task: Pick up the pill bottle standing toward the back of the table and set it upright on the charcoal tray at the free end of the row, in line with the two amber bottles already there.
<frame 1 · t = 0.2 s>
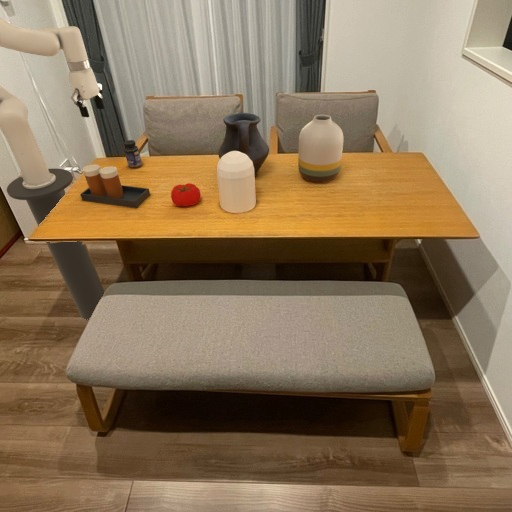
hand: (93, 112, 152), 26 cm above the table, tool pointing down, fingers open, 9 cm apart
tomato: (187, 203, 145), on the table
pill bottle: (135, 166, 173), on the table
amber bottle 2: (116, 195, 150), point 1 cm above the table, touching tray
amber bottle 1: (99, 193, 152), point 1 cm above the table, touching tray
vase: (318, 176, 158), on the table
tray: (116, 197, 151), on the table
pitcher: (245, 174, 162), on the table
container: (238, 204, 143), on the table
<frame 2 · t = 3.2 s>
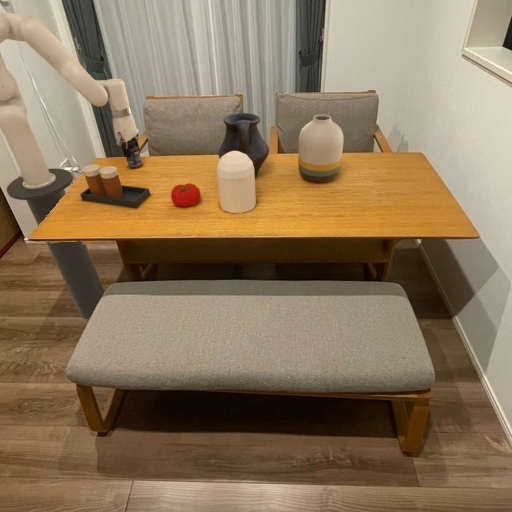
hand: (132, 153, 169), 6 cm above the table, tool pointing down, fingers closed on pill bottle, 6 cm apart
pill bottle: (135, 166, 173), on the table, touching gripper
everything else where it was.
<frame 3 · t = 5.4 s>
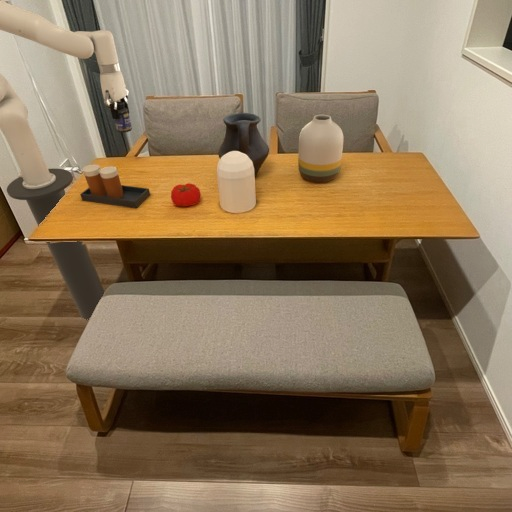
hand: (121, 115, 157), 23 cm above the table, tool pointing down, fingers closed on pill bottle, 6 cm apart
pill bottle: (124, 130, 161), point 17 cm above the table, touching gripper
everything else where it was.
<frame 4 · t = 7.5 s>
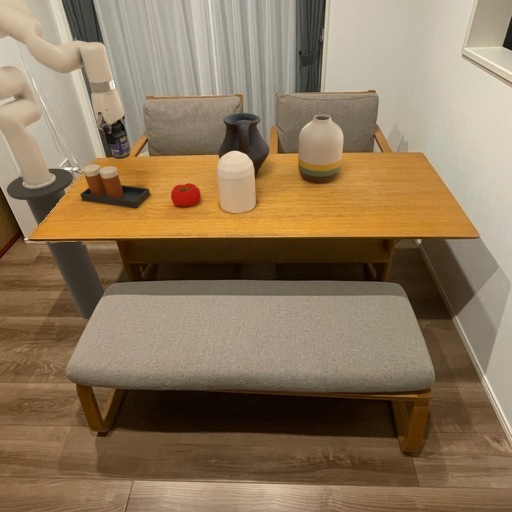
hand: (117, 139, 136), 23 cm above the table, tool pointing down, fingers closed on pill bottle, 6 cm apart
pill bottle: (122, 156, 139), point 17 cm above the table, touching gripper
everything else where it was.
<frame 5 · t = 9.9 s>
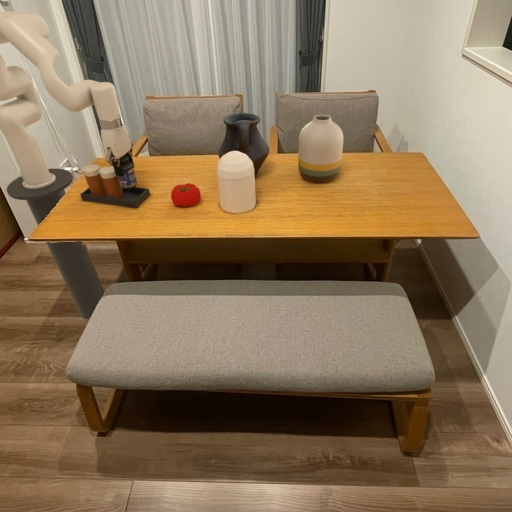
hand: (125, 171, 141), 12 cm above the table, tool pointing down, fingers closed on pill bottle, 6 cm apart
pill bottle: (129, 186, 145), point 6 cm above the table, touching gripper
everything else where it was.
when the fingers open (7 cm above the table, at t = 11.7 s): pill bottle stays where it is, resting on tray.
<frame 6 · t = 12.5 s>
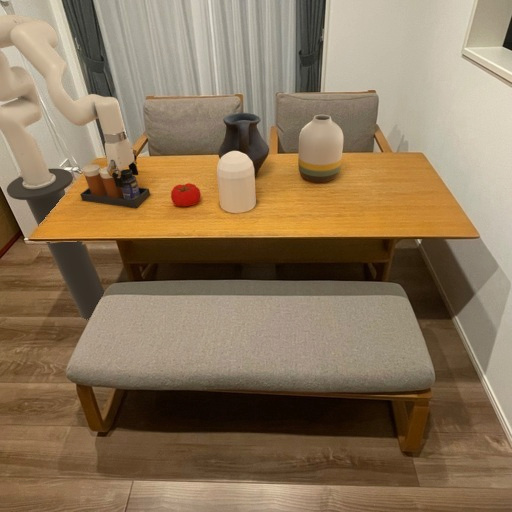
hand: (127, 180, 143), 8 cm above the table, tool pointing down, fingers open, 9 cm apart
pill bottle: (132, 198, 148), point 1 cm above the table, touching tray
everything else where it was.
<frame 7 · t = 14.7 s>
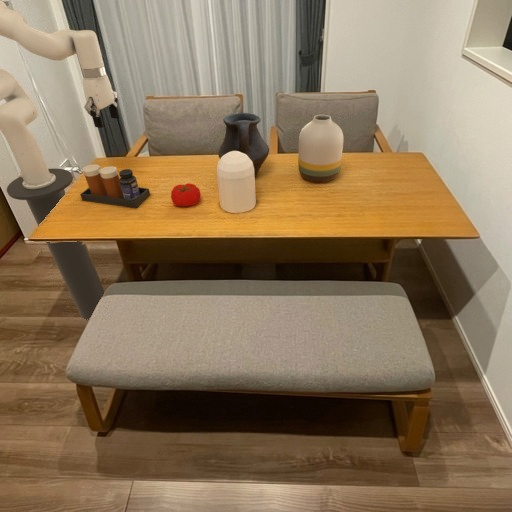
hand: (107, 122, 142), 26 cm above the table, tool pointing down, fingers open, 9 cm apart
nothing on the table moved.
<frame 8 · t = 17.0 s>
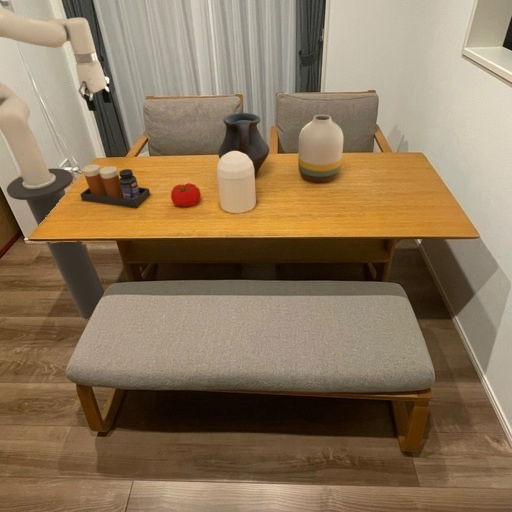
hand: (100, 106, 150), 28 cm above the table, tool pointing down, fingers open, 9 cm apart
nothing on the table moved.
at the end: pill bottle 0.0 cm from the target spot in the tray, point 0.6 cm above the tray's base; pill bottle tilted 0°; amber bottle 2 moved 0.0 cm from its start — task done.
